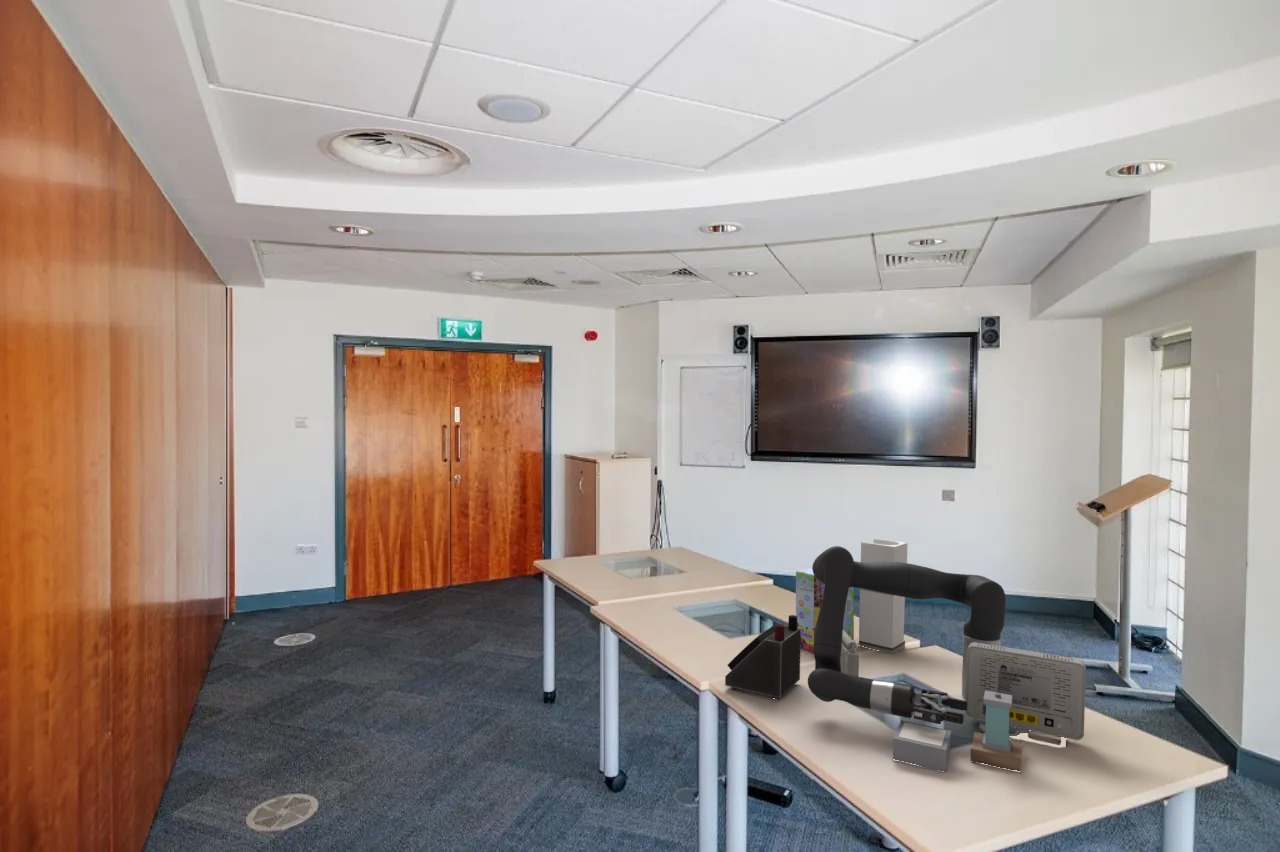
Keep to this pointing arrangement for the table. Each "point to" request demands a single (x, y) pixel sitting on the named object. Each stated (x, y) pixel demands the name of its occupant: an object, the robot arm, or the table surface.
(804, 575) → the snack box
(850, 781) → the table surface
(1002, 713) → the housing
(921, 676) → the table surface
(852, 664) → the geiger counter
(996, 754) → the walnut block
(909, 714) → the robot arm
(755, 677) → the voltmeter
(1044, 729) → the network device
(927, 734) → the grey plinth
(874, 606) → the tall open-top box
